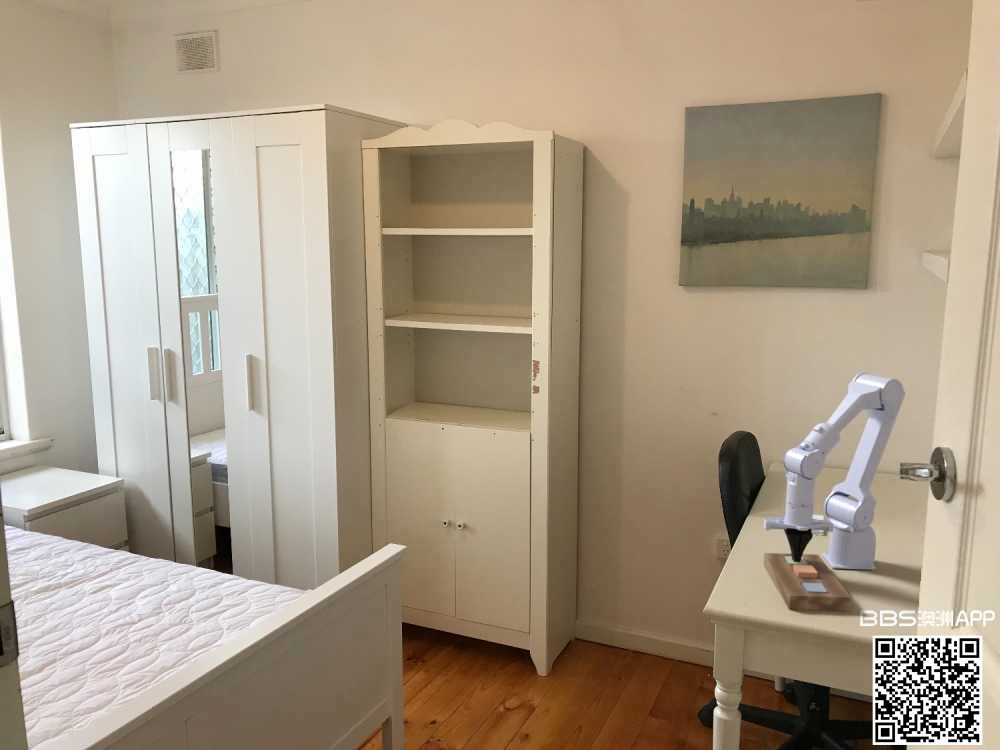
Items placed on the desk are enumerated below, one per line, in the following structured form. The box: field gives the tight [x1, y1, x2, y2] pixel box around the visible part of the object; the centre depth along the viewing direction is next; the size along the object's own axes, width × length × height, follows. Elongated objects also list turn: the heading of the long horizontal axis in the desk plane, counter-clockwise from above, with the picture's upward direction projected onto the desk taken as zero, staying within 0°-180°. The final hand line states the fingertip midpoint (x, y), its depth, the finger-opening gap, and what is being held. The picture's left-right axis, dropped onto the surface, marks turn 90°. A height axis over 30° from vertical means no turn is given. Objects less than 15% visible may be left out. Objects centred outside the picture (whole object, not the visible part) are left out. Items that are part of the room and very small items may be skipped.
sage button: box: [784, 556, 808, 565], centre depth 181 cm, size 4×4×2 cm
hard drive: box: [811, 513, 826, 535], centre depth 211 cm, size 2×8×12 cm
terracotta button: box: [793, 565, 818, 579], centre depth 174 cm, size 4×4×2 cm
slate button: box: [802, 583, 828, 593], centre depth 168 cm, size 4×4×2 cm
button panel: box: [763, 552, 852, 613], centre depth 175 cm, size 12×22×3 cm, turn 175°
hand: (796, 560), depth 181 cm, fingers closed, pressing on sage button
